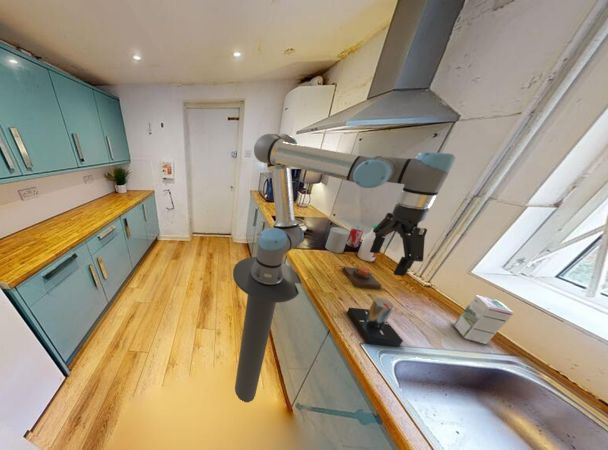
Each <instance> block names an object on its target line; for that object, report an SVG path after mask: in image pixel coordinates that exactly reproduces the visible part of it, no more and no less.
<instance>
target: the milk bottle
mask: <svg viewBox="0 0 608 450" xmlns="http://www.w3.org/2000/svg"><path fill="white" fill-rule="evenodd" d="M378 224H379V223H377V224H376V223H374V224H373V225H372V227H371V229H370V231H369V232H368V233H366V234H365V236H364V237H363V240H362V242H361V244H360V247H359V249H358V252H357V257H358V258H359V259H360V260H363V261H365V262H374V261H375V259H376V257H377V255H378V253H371V252H370V250H371V247H372V245H373V241H374V239H375V237H376V236H375V233H374V232H373V230H374V229H375V228H376V227H377V225H378ZM379 230H380V229H379Z"/></svg>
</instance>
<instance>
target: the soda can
mask: <svg viewBox="0 0 608 450" xmlns="http://www.w3.org/2000/svg"><path fill="white" fill-rule="evenodd" d="M349 232H350V234H349V237H348V240H347V242H346V245H347V246H348V247H351V248H358V247H359V244H360V242H361V239H362V237H363V234H364V228H362V227H360V226H352V227H351V228H350V230H349Z"/></svg>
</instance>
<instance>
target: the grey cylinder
mask: <svg viewBox="0 0 608 450" xmlns="http://www.w3.org/2000/svg"><path fill="white" fill-rule="evenodd" d="M349 234H350V230H348V229H347V228H343V227H340V226H339V227H338V226H332V227H331V228H330V231H329V234H328V237H327V240H326V243H325V245H324V248H325V249H326V250H328V251H329V252H332V253H336V254H342V253H343V252H344V251H345V247H346V245H347V244H346V242H347V240H348V237H349Z"/></svg>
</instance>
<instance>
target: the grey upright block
mask: <svg viewBox="0 0 608 450" xmlns="http://www.w3.org/2000/svg"><path fill="white" fill-rule="evenodd" d="M368 309H369V311H368V313H367V315H366V317H365V320H366V322H367V323H368V324H369V325H370V326H372V327H374V328H377V329H382V328H383V327H384V325H385V323H386V321H387V322H388V319H389V318H390V316H391V314H392V313H393V311H394V309H395V306H394V304H393V303H392V302H391V301H389V300H387V299H385V298H383V297H375V298H374V300H373V301H372V303H371V305H370V307H369V308H368Z"/></svg>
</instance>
